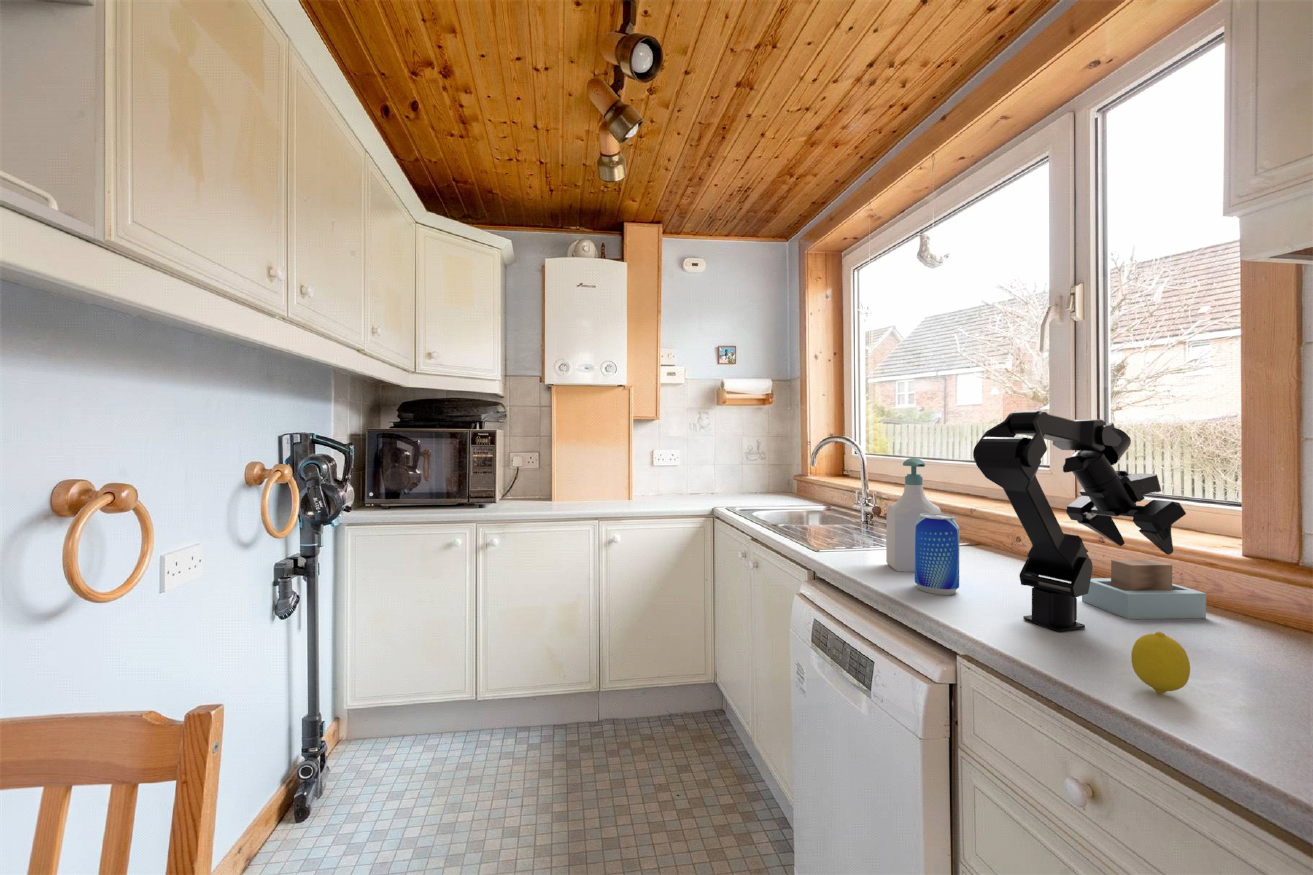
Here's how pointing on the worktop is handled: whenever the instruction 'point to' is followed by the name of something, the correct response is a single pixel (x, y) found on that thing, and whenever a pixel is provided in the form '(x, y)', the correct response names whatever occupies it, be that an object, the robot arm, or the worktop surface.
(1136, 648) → the lemon
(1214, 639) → the worktop surface
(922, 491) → the soap bottle
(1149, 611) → the light blue tray
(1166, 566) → the brown rectangular block
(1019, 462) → the robot arm
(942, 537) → the beer can
